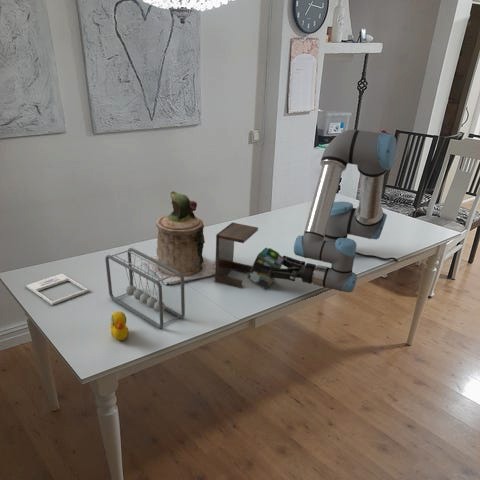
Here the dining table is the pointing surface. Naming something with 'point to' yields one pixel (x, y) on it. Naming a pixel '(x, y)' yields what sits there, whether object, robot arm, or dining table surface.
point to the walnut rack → (231, 252)
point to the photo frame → (51, 282)
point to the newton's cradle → (140, 294)
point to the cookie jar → (181, 243)
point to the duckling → (119, 326)
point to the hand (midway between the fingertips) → (259, 262)
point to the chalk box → (267, 259)
